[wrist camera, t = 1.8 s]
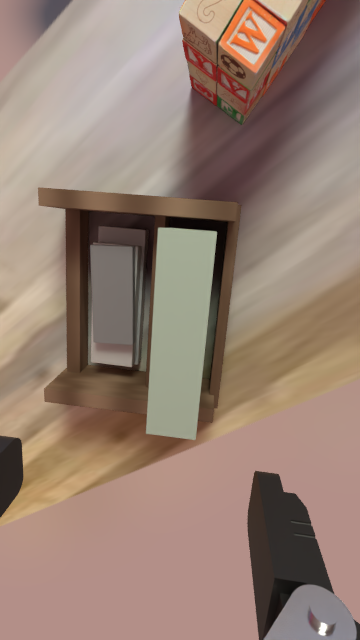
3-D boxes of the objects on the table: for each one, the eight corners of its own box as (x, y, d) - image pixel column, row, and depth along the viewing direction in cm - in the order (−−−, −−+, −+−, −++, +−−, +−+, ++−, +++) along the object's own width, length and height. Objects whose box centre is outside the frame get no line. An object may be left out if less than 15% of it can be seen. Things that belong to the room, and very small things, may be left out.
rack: (238, 207, 35) (243, 202, 29) (217, 391, 41) (217, 423, 34) (70, 195, 37) (38, 187, 30) (71, 374, 42) (44, 401, 36)
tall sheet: (216, 231, 36) (217, 232, 23) (202, 370, 41) (195, 440, 27) (179, 227, 37) (158, 227, 23) (169, 366, 41) (145, 433, 27)
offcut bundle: (149, 230, 37) (139, 230, 32) (141, 358, 41) (131, 375, 36) (104, 226, 38) (88, 225, 33) (101, 353, 42) (86, 369, 37)
